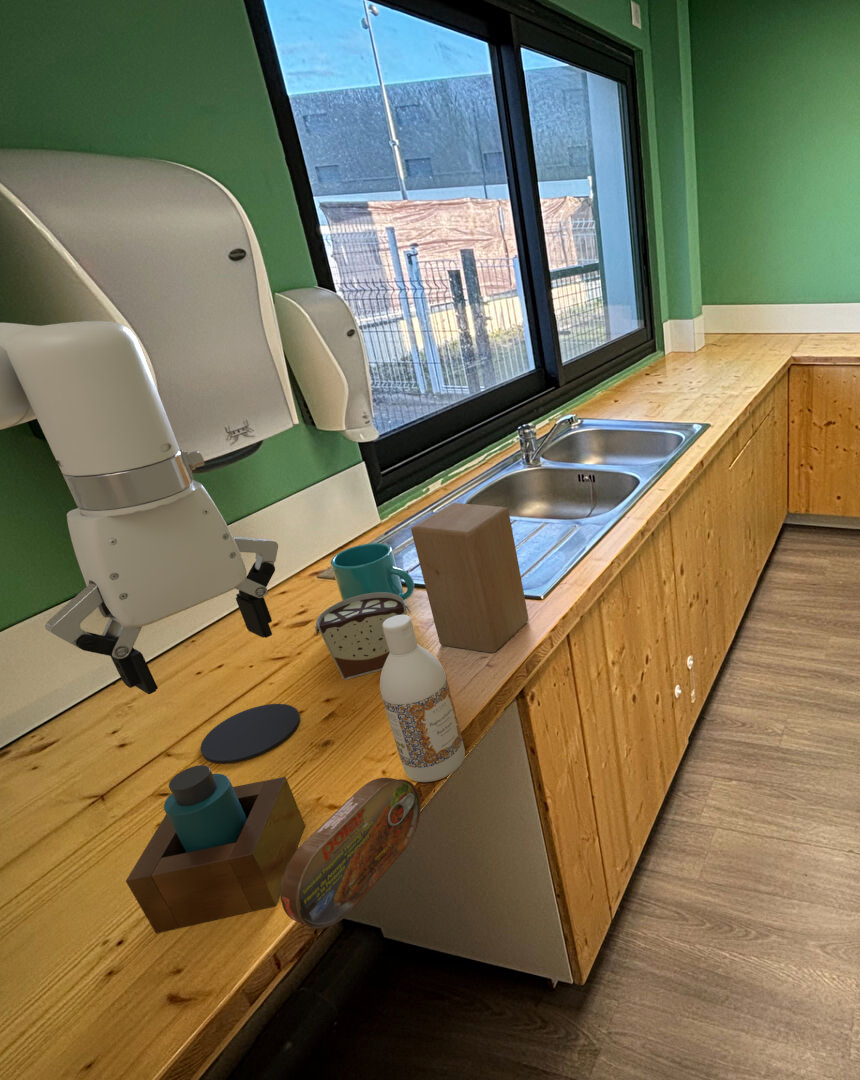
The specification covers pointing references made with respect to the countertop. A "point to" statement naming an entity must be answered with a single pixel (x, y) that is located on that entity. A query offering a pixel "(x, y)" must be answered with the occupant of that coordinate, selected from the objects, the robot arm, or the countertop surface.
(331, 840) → the tin
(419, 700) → the bath foam
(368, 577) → the cup
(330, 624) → the food container
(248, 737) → the coaster
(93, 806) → the countertop surface
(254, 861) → the holder
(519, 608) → the wooden block
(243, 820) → the bottle
